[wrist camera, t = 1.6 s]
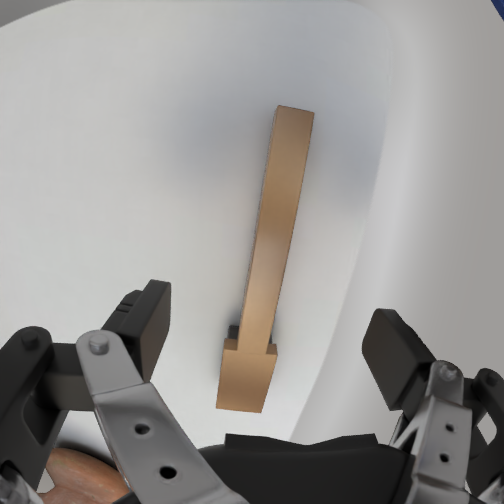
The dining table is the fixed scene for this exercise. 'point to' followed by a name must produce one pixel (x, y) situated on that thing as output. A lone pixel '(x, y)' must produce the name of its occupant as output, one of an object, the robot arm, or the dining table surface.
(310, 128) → the brush
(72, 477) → the ceramic jug
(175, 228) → the dining table surface
